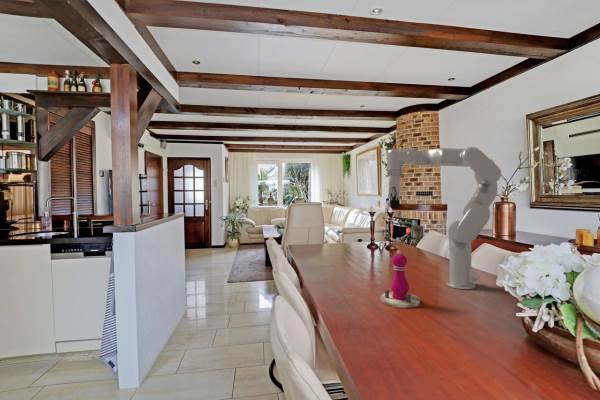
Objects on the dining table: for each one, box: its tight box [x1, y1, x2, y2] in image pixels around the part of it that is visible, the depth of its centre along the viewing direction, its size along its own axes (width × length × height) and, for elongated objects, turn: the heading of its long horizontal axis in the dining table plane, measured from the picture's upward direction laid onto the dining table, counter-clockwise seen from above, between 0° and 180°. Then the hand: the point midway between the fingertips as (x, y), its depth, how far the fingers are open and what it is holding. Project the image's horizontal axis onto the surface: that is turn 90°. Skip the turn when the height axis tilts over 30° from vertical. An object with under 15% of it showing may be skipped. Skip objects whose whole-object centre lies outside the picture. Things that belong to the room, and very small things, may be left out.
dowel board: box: [379, 289, 421, 309], centre depth 135 cm, size 16×16×4 cm
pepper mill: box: [390, 250, 410, 300], centre depth 135 cm, size 7×7×20 cm
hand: (395, 207), depth 162 cm, fingers open, 9 cm apart
